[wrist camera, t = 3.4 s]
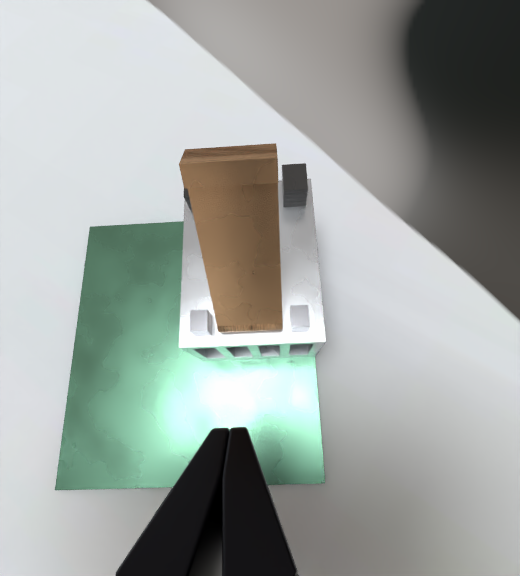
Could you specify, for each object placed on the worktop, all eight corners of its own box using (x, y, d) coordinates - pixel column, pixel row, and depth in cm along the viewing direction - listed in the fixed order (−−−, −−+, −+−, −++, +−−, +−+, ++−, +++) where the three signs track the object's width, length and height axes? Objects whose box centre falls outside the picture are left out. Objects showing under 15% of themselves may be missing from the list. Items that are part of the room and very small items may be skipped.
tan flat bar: (281, 319, 17) (283, 339, 16) (220, 322, 17) (218, 342, 16) (275, 142, 12) (277, 157, 11) (185, 148, 12) (178, 163, 11)
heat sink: (324, 481, 20) (348, 524, 13) (59, 488, 21) (-59, 533, 14) (302, 217, 25) (311, 143, 18) (92, 229, 26) (21, 162, 19)
